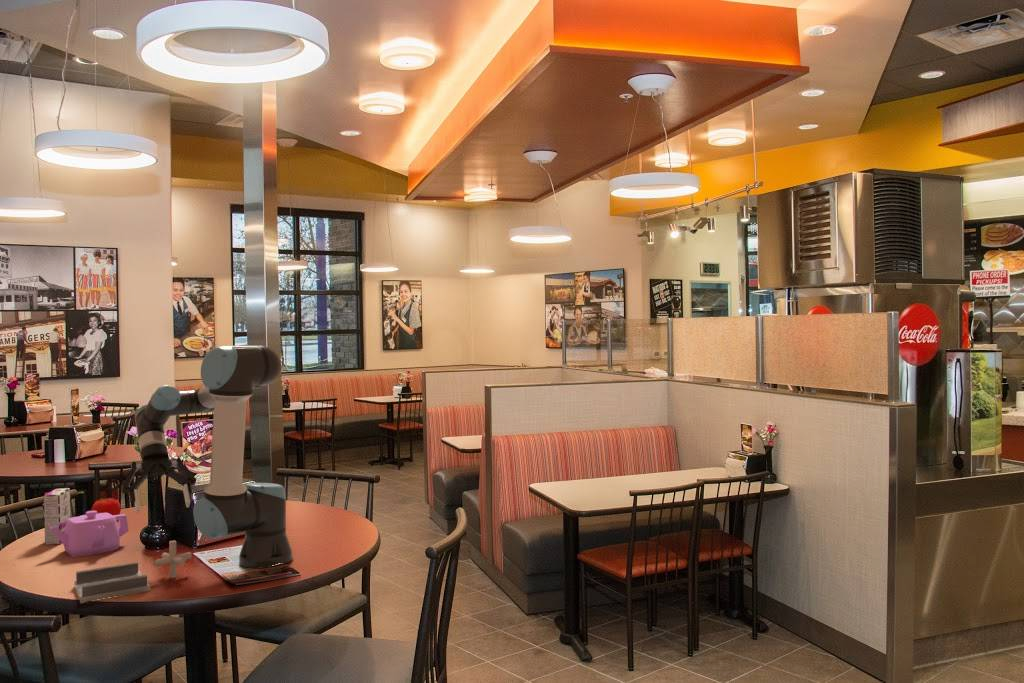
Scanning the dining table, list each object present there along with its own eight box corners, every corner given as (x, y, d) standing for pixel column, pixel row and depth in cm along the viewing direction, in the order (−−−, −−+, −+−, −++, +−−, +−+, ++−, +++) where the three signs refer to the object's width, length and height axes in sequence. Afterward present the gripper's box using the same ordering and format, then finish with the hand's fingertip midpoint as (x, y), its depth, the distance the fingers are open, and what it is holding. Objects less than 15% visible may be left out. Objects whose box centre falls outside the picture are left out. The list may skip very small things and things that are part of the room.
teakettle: (132, 543, 252) (131, 505, 252) (103, 558, 235) (102, 517, 235) (80, 543, 253) (80, 505, 253) (48, 558, 236) (47, 517, 236)
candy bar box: (55, 536, 261) (54, 488, 260) (71, 535, 262) (70, 487, 262) (43, 545, 250) (42, 495, 250) (60, 544, 251) (59, 494, 251)
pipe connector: (181, 569, 222) (181, 534, 222) (199, 575, 216) (198, 540, 216) (146, 578, 215) (146, 542, 215) (164, 585, 208) (163, 548, 208)
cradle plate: (139, 575, 217) (139, 561, 217) (149, 591, 204) (149, 575, 204) (74, 586, 208) (73, 572, 208) (80, 603, 195) (80, 587, 195)
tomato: (126, 517, 287) (125, 495, 287) (108, 524, 277) (108, 501, 277) (102, 517, 288) (102, 495, 288) (84, 524, 278) (84, 500, 278)
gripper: (194, 453, 246) (206, 509, 234) (107, 460, 232) (114, 520, 220) (198, 438, 241) (210, 495, 229) (109, 445, 227) (117, 505, 215)
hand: (163, 507), depth 224 cm, fingers open, 13 cm apart
